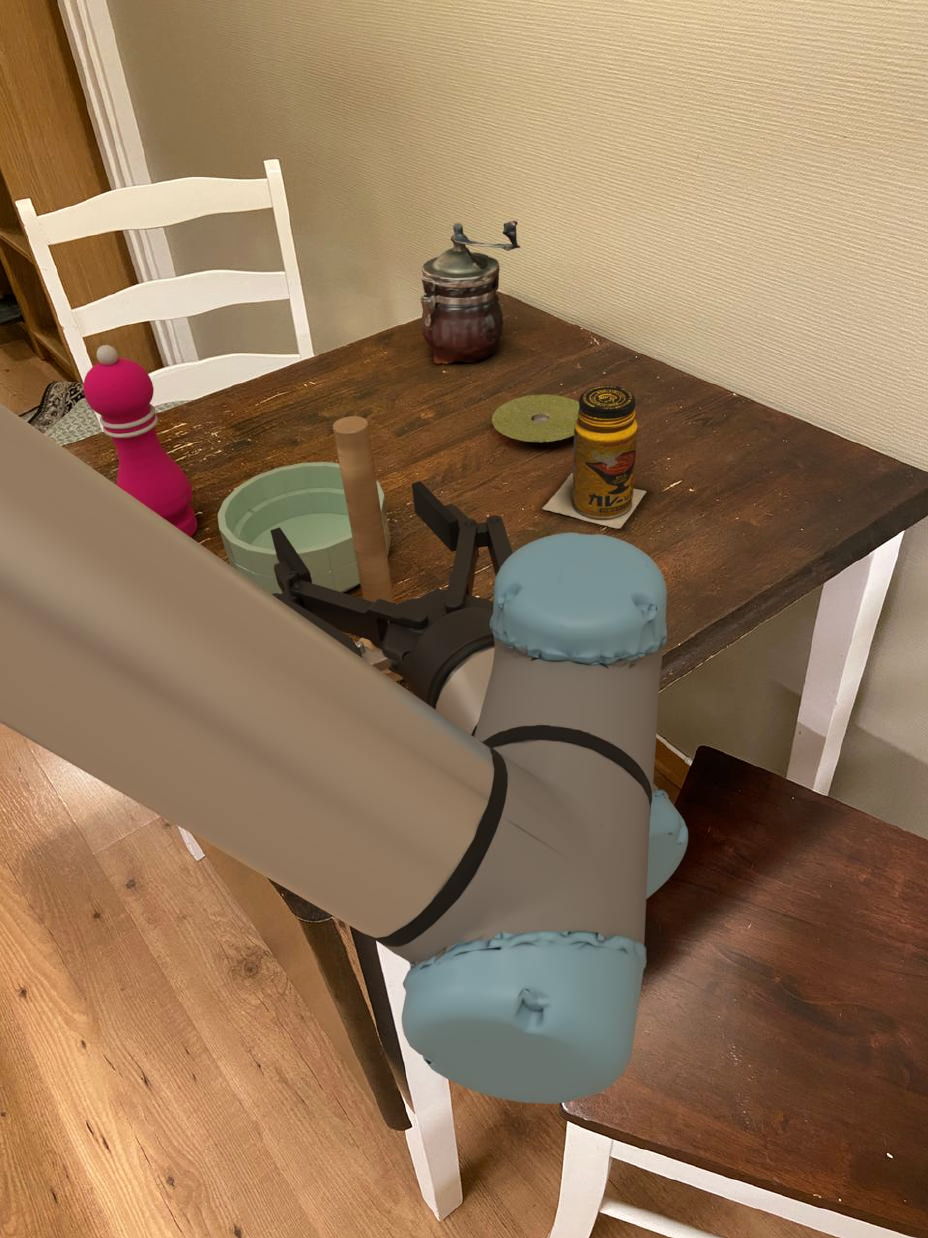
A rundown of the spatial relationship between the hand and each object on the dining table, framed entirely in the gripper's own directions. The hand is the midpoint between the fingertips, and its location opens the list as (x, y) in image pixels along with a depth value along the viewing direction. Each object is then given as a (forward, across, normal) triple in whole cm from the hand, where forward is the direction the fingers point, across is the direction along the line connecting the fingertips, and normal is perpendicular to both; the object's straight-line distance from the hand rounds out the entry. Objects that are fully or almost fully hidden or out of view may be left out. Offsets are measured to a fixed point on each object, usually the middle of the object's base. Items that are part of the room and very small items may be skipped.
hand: (349, 519), depth 69 cm
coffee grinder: (+45, +35, -12) cm, 58 cm away
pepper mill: (+26, -12, -12) cm, 31 cm away
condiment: (+7, +28, -12) cm, 31 cm away
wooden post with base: (-4, 0, -12) cm, 13 cm away
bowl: (+14, 0, -12) cm, 18 cm away
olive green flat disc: (+22, +31, -12) cm, 40 cm away
